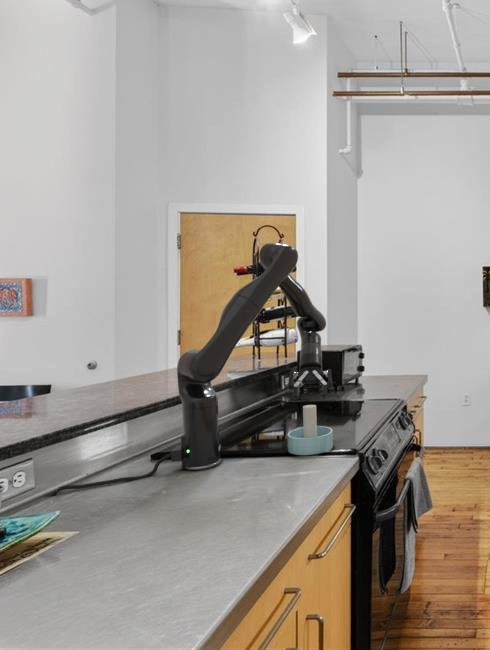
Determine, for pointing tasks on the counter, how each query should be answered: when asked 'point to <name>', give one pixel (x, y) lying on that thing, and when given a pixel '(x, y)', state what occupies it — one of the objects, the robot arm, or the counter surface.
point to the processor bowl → (310, 441)
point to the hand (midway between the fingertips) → (310, 397)
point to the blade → (309, 421)
